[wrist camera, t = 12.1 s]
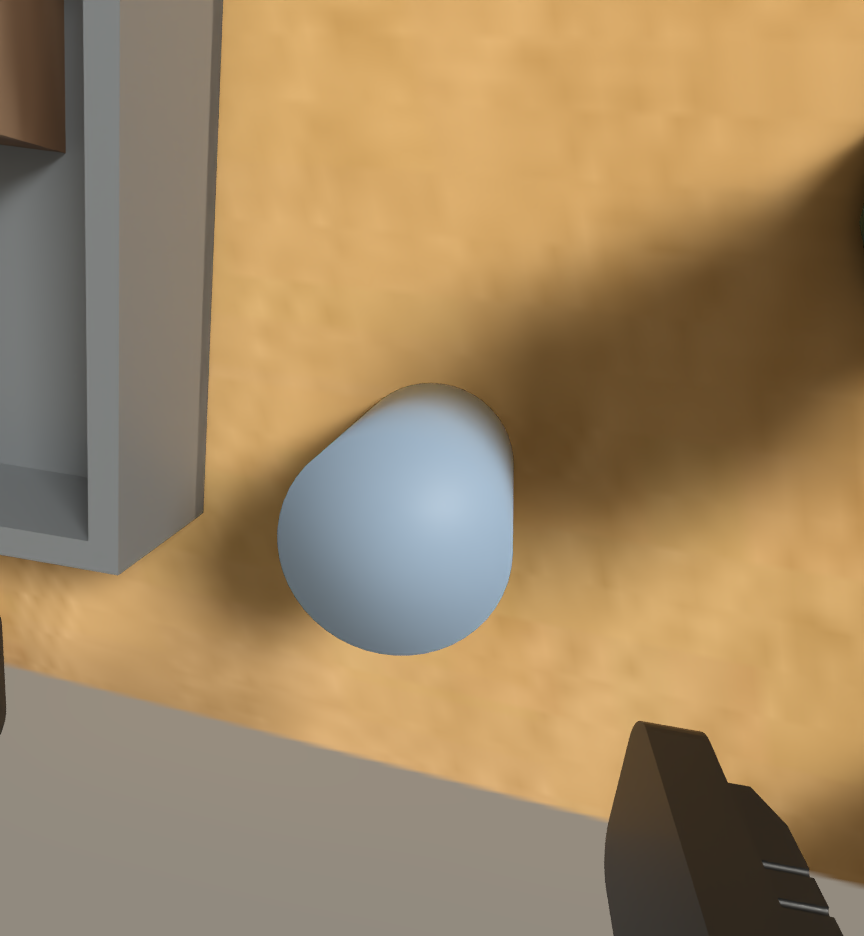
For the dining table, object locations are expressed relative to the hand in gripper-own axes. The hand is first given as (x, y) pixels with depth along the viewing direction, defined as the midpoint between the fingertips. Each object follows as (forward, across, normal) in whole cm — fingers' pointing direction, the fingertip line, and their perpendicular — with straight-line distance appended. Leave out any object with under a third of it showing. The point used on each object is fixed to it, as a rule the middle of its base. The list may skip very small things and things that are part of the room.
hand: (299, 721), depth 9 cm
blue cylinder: (+13, 0, 0) cm, 13 cm away
